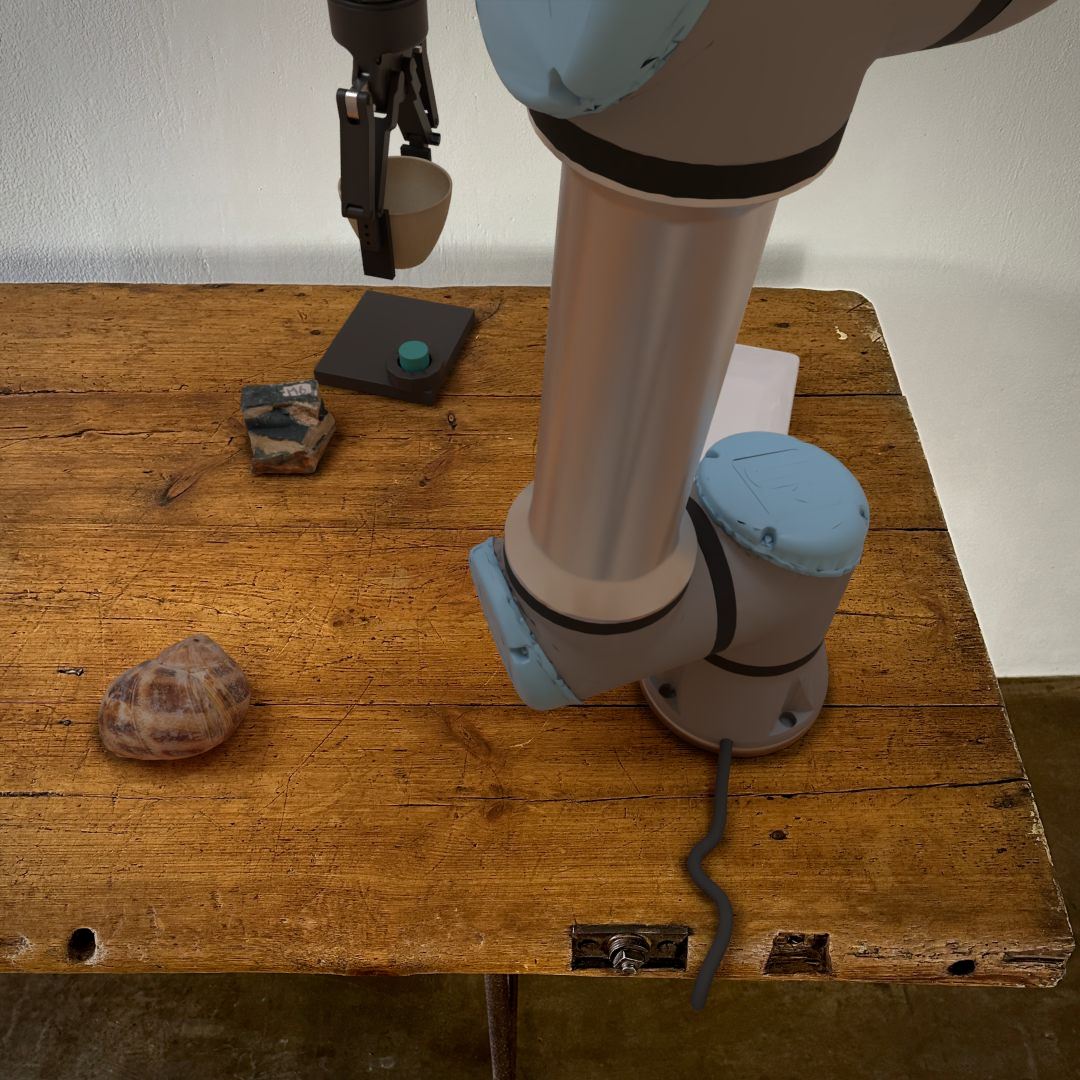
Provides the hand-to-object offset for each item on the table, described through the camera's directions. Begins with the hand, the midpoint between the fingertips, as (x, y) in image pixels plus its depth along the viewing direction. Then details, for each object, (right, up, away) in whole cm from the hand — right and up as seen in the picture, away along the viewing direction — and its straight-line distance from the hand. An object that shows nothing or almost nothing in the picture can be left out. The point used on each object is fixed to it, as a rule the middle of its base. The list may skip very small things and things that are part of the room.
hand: (400, 242), depth 90 cm
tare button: (0, -9, +11) cm, 14 cm away
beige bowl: (0, -1, +1) cm, 1 cm away
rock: (-12, -18, +7) cm, 23 cm away
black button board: (-3, -7, +17) cm, 18 cm away
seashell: (-15, -42, -13) cm, 46 cm away
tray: (+28, -20, +7) cm, 35 cm away
